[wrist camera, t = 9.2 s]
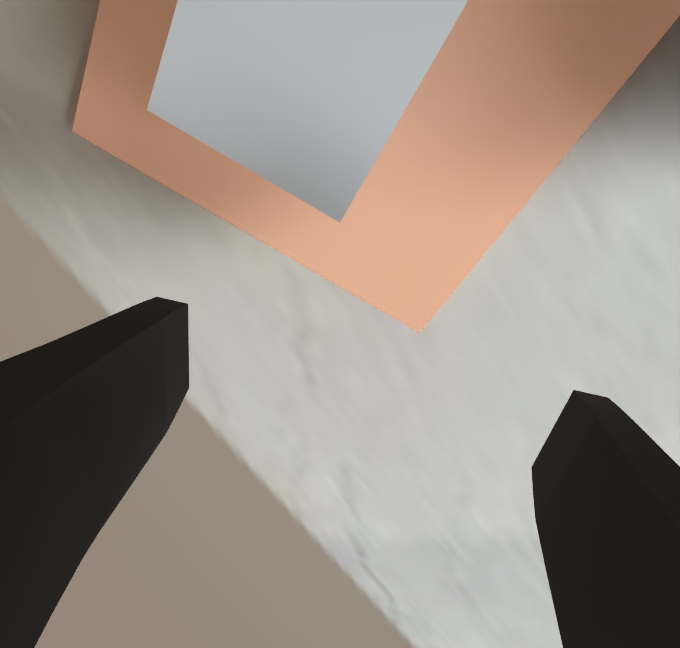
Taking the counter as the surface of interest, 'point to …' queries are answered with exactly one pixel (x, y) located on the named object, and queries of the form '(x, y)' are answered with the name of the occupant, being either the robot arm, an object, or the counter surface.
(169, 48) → the slate block
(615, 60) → the terracotta tile
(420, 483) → the counter surface
